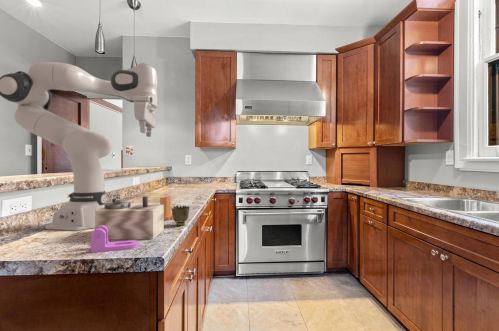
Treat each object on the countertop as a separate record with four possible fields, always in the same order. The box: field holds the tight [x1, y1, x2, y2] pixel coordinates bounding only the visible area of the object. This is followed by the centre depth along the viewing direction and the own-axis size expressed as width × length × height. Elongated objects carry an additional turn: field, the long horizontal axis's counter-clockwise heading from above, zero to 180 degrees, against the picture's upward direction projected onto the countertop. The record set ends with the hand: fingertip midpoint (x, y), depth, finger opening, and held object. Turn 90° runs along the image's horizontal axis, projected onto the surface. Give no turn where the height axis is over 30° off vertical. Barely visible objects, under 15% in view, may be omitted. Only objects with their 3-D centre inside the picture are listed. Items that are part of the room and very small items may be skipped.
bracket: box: [90, 225, 140, 253], centre depth 86 cm, size 13×6×7 cm, turn 109°
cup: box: [171, 205, 190, 227], centre depth 116 cm, size 8×7×8 cm
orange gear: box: [159, 196, 174, 221], centre depth 130 cm, size 9×9×10 cm
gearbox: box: [94, 196, 165, 240], centre depth 102 cm, size 20×13×14 cm, turn 92°
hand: (145, 134), depth 116 cm, fingers open, 8 cm apart
